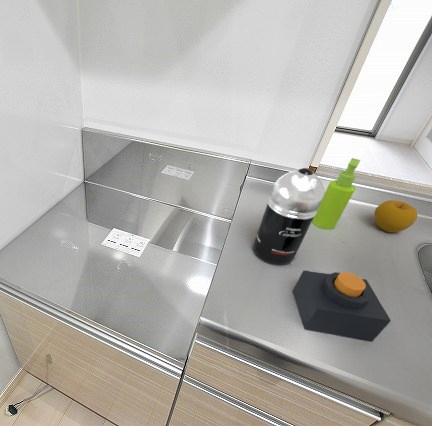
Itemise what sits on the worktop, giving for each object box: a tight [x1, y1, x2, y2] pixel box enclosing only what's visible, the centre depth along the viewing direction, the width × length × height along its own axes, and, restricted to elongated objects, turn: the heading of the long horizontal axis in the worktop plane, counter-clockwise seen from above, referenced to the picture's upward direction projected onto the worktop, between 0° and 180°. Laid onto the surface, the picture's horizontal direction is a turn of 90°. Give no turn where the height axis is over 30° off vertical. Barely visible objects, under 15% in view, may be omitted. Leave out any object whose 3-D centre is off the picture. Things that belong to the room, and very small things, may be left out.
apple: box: [373, 199, 418, 234], centre depth 82 cm, size 8×8×9 cm
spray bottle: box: [252, 167, 325, 266], centre depth 70 cm, size 10×10×25 cm
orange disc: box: [334, 272, 366, 297], centre depth 57 cm, size 4×4×2 cm
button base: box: [292, 270, 392, 343], centre depth 60 cm, size 12×10×9 cm
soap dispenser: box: [311, 157, 361, 230], centre depth 82 cm, size 6×7×20 cm
